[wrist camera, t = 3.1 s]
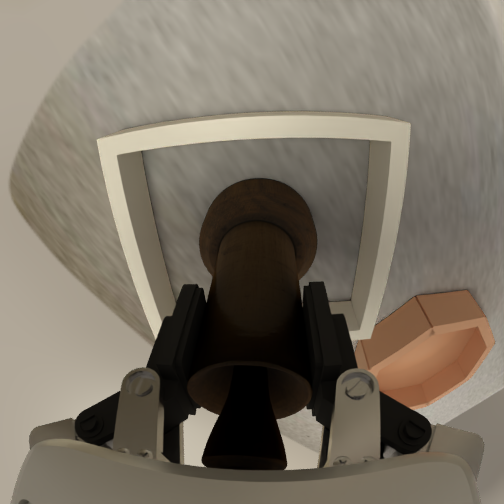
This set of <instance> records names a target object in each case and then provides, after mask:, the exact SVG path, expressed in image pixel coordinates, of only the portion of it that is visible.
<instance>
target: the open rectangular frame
mask: <svg viewBox="0 0 504 504" xmlns="http://www.w3.org/2000/svg"><path fill="white" fill-rule="evenodd" d="M410 128H411V123H408V122H405V121H401V120H398V119H394V118H391V117H387V116H379V115H368V114H356V113H340V112H313V111H280V112H253V113H237V114H224V115H213V116H204V117H195V118H188V119H180V120H173V121H167V122H161V123H155V124H149V125H144V126H139V127H133V128H129V129H124V130H121V131H118V132H115V133H112V134H110V135H107V136H105V137H102V138H99V139H97V144H98V149H99V154H100V160H101V165H102V169H103V174H104V179H105V183H106V188H107V192H108V196H109V200H110V204H111V208H112V212H113V216H114V219H115V223H116V227H117V230H118V234H119V237H120V241H121V244H122V247H123V251H124V254H125V257H126V260H127V263H128V266H129V269H130V272H131V275H132V278H133V281H134V284H135V287H136V290H137V293H138V295H139V298H140V301H141V303H142V306H143V309H144V311H145V314H146V317H147V319H148V322H149V324H150V327H151V329H152V332H153V334H154V336H155V339H156V338H157V335H158V333H159V330H160V327H161V324H162V322H163V319H164V318H165V317H166V316H172V314H173V311H174V308H175V306H176V302H175V299H174V295H173V292H172V288H171V285H170V281H169V277H168V273H167V270H166V266H165V262H164V258H163V254H162V250H161V246H160V242H159V237H158V233H157V229H156V224H155V220H154V215H153V211H152V206H151V201H150V196H149V191H148V186H147V181H146V175H145V170H144V164H143V158H142V152H141V151H142V150H148V149H155V148H162V147H169V146H177V145H185V144H194V143H204V142H214V141H227V140H241V139H261V138H345V139H364V140H370V150H369V167H368V180H367V192H366V202H365V211H364V220H363V228H362V236H361V243H360V250H359V256H358V263H357V269H356V275H355V280H354V286H353V291H352V297H351V301H341V302H329V306H330V310H331V314H342V313H343V314H344V316H345V319H346V323H347V326H348V330H349V334H350V338H351V341H352V340H363V339H371V336H372V332H373V329H374V326H375V323H376V320H377V316H378V313H379V309H380V306H381V302H382V299H383V295H384V291H385V287H386V284H387V280H388V276H389V271H390V267H391V263H392V258H393V254H394V249H395V244H396V239H397V234H398V229H399V223H400V217H401V211H402V205H403V198H404V191H405V184H406V175H407V166H408V156H409V144H410ZM302 307H303V303H302Z"/></svg>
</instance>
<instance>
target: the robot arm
mask: <svg viewBox="0 0 504 504" xmlns="http://www.w3.org/2000/svg"><path fill="white" fill-rule="evenodd" d="M205 307H206V300H205V295H204V290H203V288H199V286H198V285H197V284H184V285H183V287H182V289H181V292H180V295H179V297H178V300H177V303H176V306H175V308H174V311H173V314H172V316H166V317H165V318H164V319H163V322H162V324H161V327H160V330H159V333H158V335H157V338H156V341H155V344H154V346H153V349H152V353H151V355H150V358H149V361H148V363H147V366H146V368H143V367H142V368H137V369H134V370H132V371H130V372H129V373H128V374H127V375H126V376H125V377H124V379H123V381H122V385H121V391H119V392H117V393H115V394H113V395H112V396H110V397H108V398H106V399H104V400H102V401H101V402H99V403H97V404H95V405H93V406H91V407H90V408H88V409H86V410H84V411H83V412H81V413H80V414H79V416H78V417H77V418H76V419H75V420H73V419H72V418H69V419H65V420H61V421H58V422H54V423H50V424H46V425H42V426H38V427H36V428H34V429H33V430H32V431H31V434H30V436H29V444H30V451H29V453H28V454H27V456H26V458H25V460H24V462H23V465H22V467H21V470H20V473H19V475H18V478H17V481H16V485H15V488H14V492H13V496H12V500H11V504H481V500H480V495H479V491H478V487H477V483H476V480H477V477H478V473H479V469H480V465H481V461H482V457H483V452H484V442H483V439H482V438H481V437H480V436H479V435H477V434H475V433H472V432H468V431H463V430H459V429H456V428H451V427H448V426H445V425H441V424H438V423H437V424H436V425H432V424H430V422H429V421H428V419H427V418H425V417H424V416H423V415H421V414H419V413H417V412H416V411H414V410H412V409H410V408H409V407H407V406H405V405H403V404H402V403H400V402H398V401H396V400H395V399H393V398H391V397H390V396H388V395H386V394H384V393H383V392H381V391H379V384H378V380H377V379H376V377H375V376H374V375H373V374H372V373H371V372H369V371H367V370H365V369H359V368H358V366H357V362H356V358H355V354H354V350H353V346H352V342H351V338H350V334H349V330H348V326H347V323H346V319H345V316H344V314H343V313H342V314H331V310H330V306H329V302H328V298H327V293H326V289H325V285H324V282H309V286H304V292H303V307H302V308H303V315H304V323H305V331H306V340H307V348H308V356H309V365H310V373H311V382H312V397H311V400H310V401H309V403H308V404H307V405H306V407H307V409H312V416H316V421H318V422H319V423H321V424H322V425H323V427H322V436H321V444H320V451H319V459H318V465H317V468H315V469H301V470H232V469H218V468H207V467H197V466H190V465H184V438H183V421H185V420H186V419H188V415H189V414H190V415H195V414H196V409H197V408H201V406H200V405H199V404H197V403H196V402H195V401H194V400H193V399H192V398H191V396H190V395H189V393H188V390H187V382H188V378H189V373H190V369H191V365H192V361H193V357H194V353H195V349H196V345H197V341H198V337H199V332H200V328H201V324H202V320H203V316H204V311H205Z"/></svg>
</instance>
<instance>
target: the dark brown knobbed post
mask: <svg viewBox="0 0 504 504" xmlns="http://www.w3.org/2000/svg"><path fill="white" fill-rule="evenodd" d="M199 247H200V253H201V257H202V260H203V263H204V265H205V266H206V268H207V270H208V271H209V273H210V274H211V275H212V276H213V278H212V283H211V287H210V291H209V295H208V299H207V303H206V307H205V311H204V316H203V320H202V324H201V328H200V332H199V337H198V341H197V345H196V349H195V353H194V357H193V361H192V365H191V369H190V373H189V378H188V382H187V390H188V393H189V395H190V396H191V398H192V399H193V400H194V401H195V402H196V403H197V404H199V405H200V406H201V407H203V408H205V409H207V410H208V411H210V412H213V413H215V414H218V415H219V417H218V419H217V421H216V423H215V425H214V427H213V429H212V432H211V434H210V436H209V439H208V441H207V443H206V447H205V449H204V453H203V456H202V463H203V465H204V466H206V467H207V468H218V469H232V470H284V469H285V468H286V467H287V459H286V454H285V448H284V444H283V440H282V437H281V434H280V430H279V427H278V424H277V421H276V419H281V418H285V417H288V416H290V415H293V414H295V413H297V412H299V411H300V410H302V409H303V408H304V407H305V406H306V405H307V404H308V403H309V401H310V400H311V397H312V382H311V373H310V365H309V356H308V348H307V340H306V331H305V323H304V315H303V308H302V300H301V293H300V286H299V280H300V279H301V278H302V277H303V276H304V275H305V274H306V272H307V271H308V270H309V268H310V267H311V265H312V263H313V261H314V258H315V255H316V250H317V234H316V229H315V225H314V222H313V219H312V216H311V213H310V210H309V208H308V206H307V204H306V203H305V201H304V200H303V198H302V197H301V196H300V195H299V194H298V193H297V192H296V191H295V190H293V189H292V188H290V187H289V186H287V185H285V184H283V183H281V182H278V181H275V180H270V179H249V180H244V181H241V182H238V183H236V184H233V185H231V186H230V187H228V188H227V189H225V190H224V191H223V192H221V193H220V194H219V195H218V196H217V197H216V199H215V200H214V201H213V203H212V204H211V206H210V208H209V210H208V212H207V215H206V217H205V220H204V222H203V225H202V228H201V232H200V238H199Z"/></svg>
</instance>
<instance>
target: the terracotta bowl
mask: <svg viewBox="0 0 504 504" xmlns="http://www.w3.org/2000/svg"><path fill="white" fill-rule="evenodd" d="M494 344H495V340H494V337H493V334H492V331H491V329H490V326H489V323H488V320H487V318H486V316H485V315H484V313H483V312H482V310H481V309H480V307H479V306H478V304H477V303H476V301H475V300H474V298H473V297H472V296H471V294H470V293H469V291H467V290H463V291H455V292H446V293H437V294H428V295H418V296H416V298H415V297H413V298H412V299H411V300H409V301H408V302H407V303H406V304H404V305H403V306H402V307H400V308H399V309H398V310H396V311H395V312H394V313H392V314H391V315H389V316H388V317H387V318H385V319H384V320H383V321H381V322H380V323H378V324H377V325H375V326H374V329H373V332H372V336H371V339H363V340H358V344H357V347H356V350H355V353H354V354H355V358H356V362H357V366H358V368H359V369H365V370H367V371H369V372H371V373H372V374H373V375H374V376H375V377H376V379H377V380H378V384H379V391H381V392H383V393H384V394H386V395H388V396H390V397H391V398H393V399H395V400H396V401H398V402H400V403H402V404H403V405H405V406H407V407H409V408H410V409H412V410H415V409H419V408H423V407H426V406H429V405H430V404H432V403H434V402H435V401H437V400H439V399H440V398H442V397H444V396H445V395H447V394H448V393H450V392H451V391H453V390H454V389H456V388H457V387H459V386H460V385H462V384H463V383H465V382H466V381H468V380H469V378H471V377H472V376H473V374H474V373H475V372H476V370H477V369H478V368H479V366H480V365H481V363H482V362H483V360H484V359H485V358H486V356H487V355H488V353H489V352H490V350H491V349H492V347H493V345H494Z"/></svg>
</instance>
